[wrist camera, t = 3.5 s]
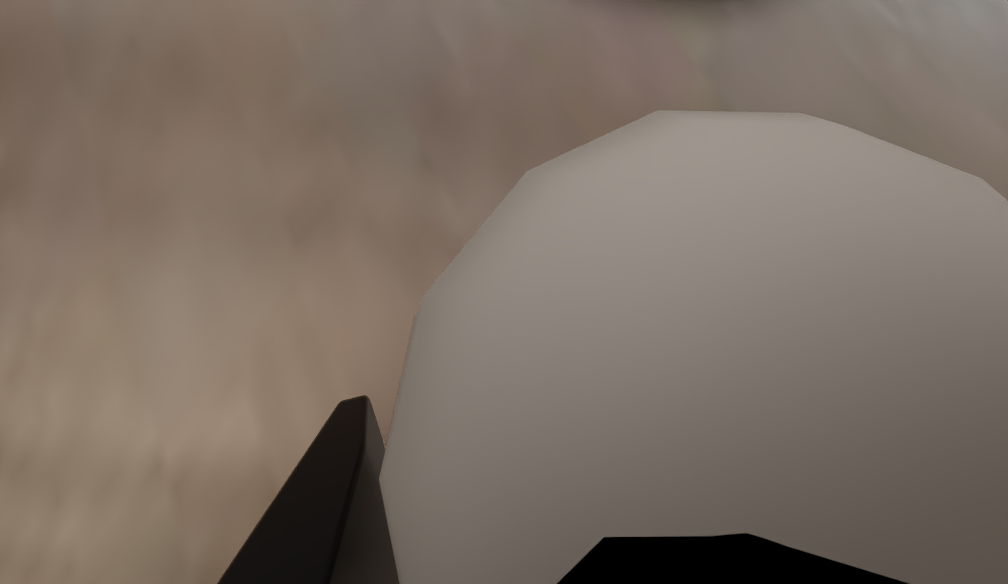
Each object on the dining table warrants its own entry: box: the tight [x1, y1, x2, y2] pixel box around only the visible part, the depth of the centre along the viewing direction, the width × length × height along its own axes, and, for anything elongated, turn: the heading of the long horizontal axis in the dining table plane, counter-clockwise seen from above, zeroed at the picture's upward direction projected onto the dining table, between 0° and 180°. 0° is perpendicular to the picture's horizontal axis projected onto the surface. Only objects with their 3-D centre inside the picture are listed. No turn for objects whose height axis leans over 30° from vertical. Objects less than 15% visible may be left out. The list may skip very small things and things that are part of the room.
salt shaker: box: [379, 110, 1008, 584], centre depth 8 cm, size 6×6×13 cm
